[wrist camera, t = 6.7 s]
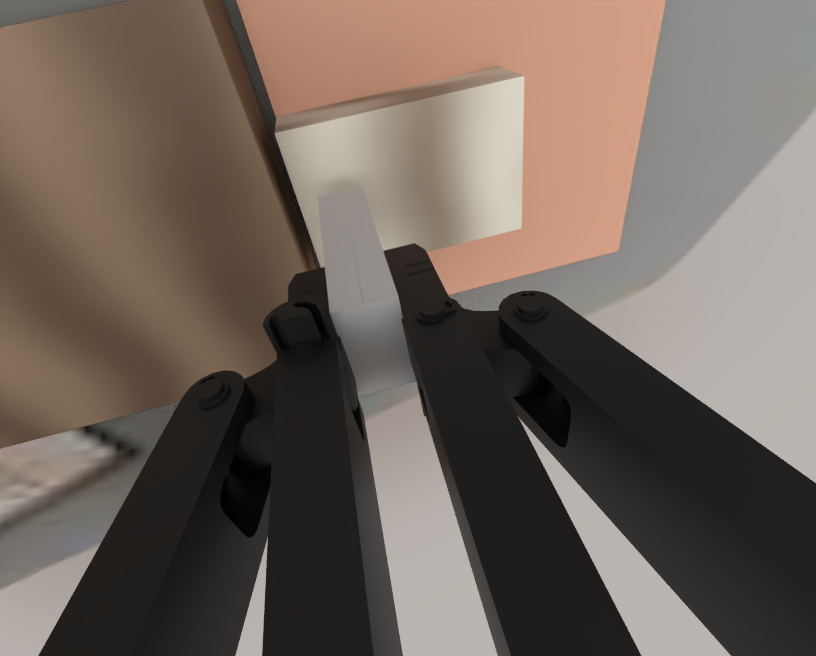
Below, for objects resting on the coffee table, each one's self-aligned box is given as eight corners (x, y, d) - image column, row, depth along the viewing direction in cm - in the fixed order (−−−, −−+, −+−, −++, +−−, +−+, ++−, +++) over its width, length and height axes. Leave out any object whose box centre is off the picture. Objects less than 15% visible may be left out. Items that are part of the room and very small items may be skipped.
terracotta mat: (343, 315, 23) (344, 321, 23) (226, -36, 14) (224, -36, 13) (612, 246, 24) (618, 250, 24) (678, -128, 15) (690, -132, 14)
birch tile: (321, 251, 20) (324, 278, 18) (276, 116, 16) (274, 133, 14) (500, 206, 21) (521, 228, 19) (498, 65, 17) (524, 75, 15)
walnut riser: (-2, 396, 22) (-50, 461, 19) (-356, 107, 13) (-554, 142, 10) (332, 310, 23) (338, 359, 20) (218, -13, 14) (197, -14, 11)
